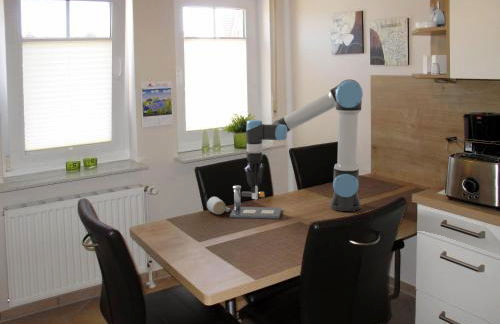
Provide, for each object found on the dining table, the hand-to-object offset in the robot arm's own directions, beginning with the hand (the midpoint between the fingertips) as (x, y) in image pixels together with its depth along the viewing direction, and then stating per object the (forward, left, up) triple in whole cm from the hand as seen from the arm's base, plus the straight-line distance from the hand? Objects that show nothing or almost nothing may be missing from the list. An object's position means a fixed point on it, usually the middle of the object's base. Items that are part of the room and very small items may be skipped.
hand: (254, 198), depth 257 cm
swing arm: (+1, -2, 0) cm, 3 cm away
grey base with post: (-1, +1, -7) cm, 7 cm away
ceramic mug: (+18, 0, -8) cm, 20 cm away
